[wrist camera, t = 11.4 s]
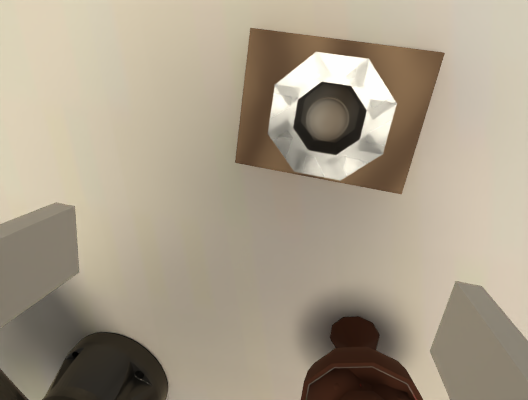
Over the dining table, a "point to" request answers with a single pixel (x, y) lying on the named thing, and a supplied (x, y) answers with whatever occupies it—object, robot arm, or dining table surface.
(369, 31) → the dining table surface
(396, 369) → the ice cream bowl
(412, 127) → the shaft stand
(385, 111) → the ring
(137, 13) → the dining table surface
